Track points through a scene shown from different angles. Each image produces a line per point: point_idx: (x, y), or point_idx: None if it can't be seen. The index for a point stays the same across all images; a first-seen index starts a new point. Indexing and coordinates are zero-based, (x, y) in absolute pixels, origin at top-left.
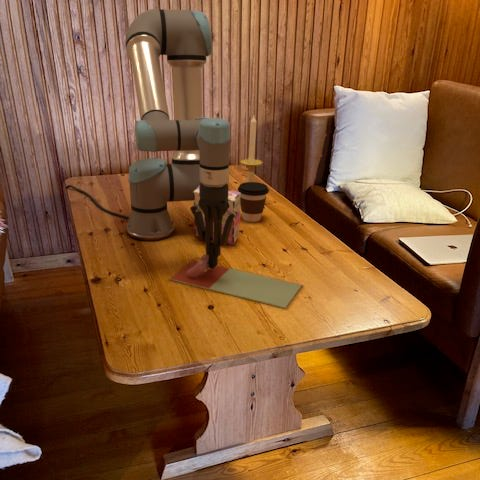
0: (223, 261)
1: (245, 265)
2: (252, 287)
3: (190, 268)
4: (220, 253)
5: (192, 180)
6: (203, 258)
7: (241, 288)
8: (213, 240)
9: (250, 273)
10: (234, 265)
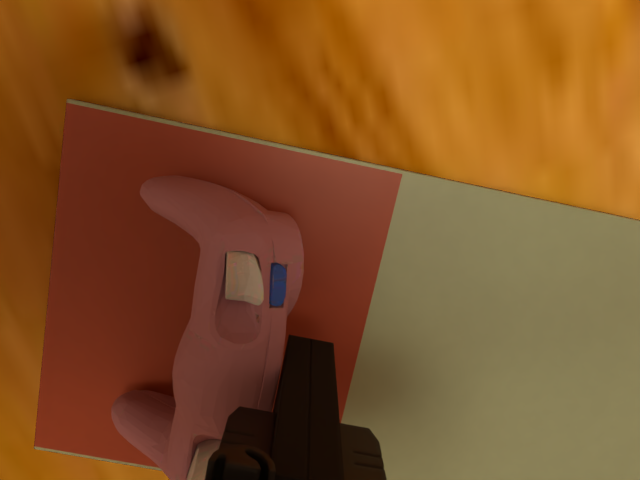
0: (316, 24)
1: (515, 50)
2: (603, 414)
3: (132, 438)
4: (379, 444)
5: None
6: (207, 433)
7: (531, 446)
8: (270, 477)
9: (576, 213)
10: (423, 78)
